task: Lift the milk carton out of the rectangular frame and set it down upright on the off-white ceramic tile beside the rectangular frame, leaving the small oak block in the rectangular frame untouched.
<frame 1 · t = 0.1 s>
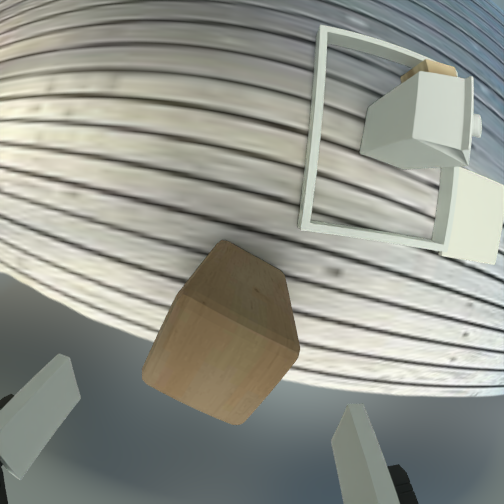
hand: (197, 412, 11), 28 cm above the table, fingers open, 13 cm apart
milk carton: (385, 138, 34), resting in rectangular frame
wooden block: (236, 284, 39), on the table
oak block: (416, 94, 32), resting in rectangular frame
rectangular frame: (386, 138, 34), on the table
tile: (475, 217, 35), on the table
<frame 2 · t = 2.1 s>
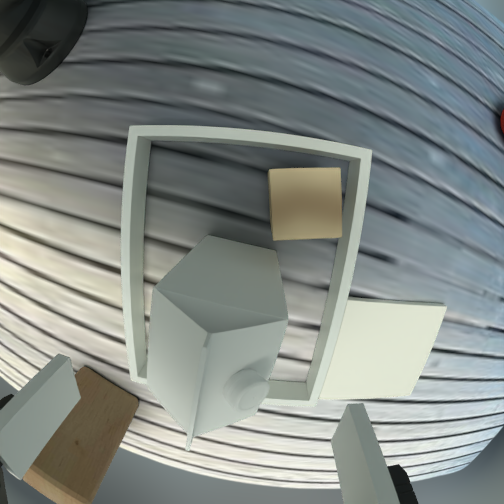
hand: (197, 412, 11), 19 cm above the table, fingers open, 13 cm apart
milk carton: (234, 274, 29), resting in rectangular frame
wooden block: (106, 397, 35), on the table
oak block: (294, 197, 27), resting in rectangular frame
rectangular frame: (234, 275, 29), on the table
tile: (382, 352, 31), on the table
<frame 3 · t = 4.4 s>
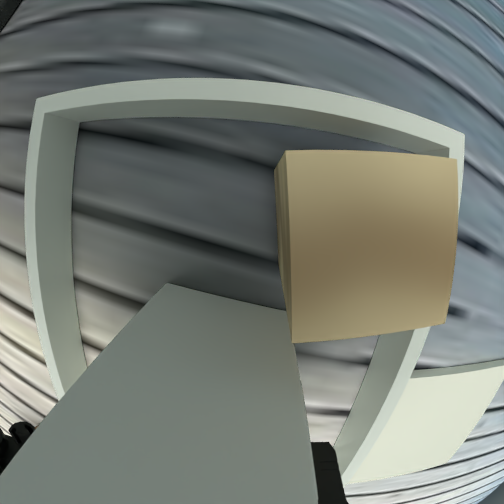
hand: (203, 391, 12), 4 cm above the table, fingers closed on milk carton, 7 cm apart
milk carton: (216, 345, 17), resting in rectangular frame, touching gripper
oak block: (323, 216, 15), resting in rectangular frame
rectangular frame: (216, 347, 17), on the table
tile: (426, 427, 18), on the table
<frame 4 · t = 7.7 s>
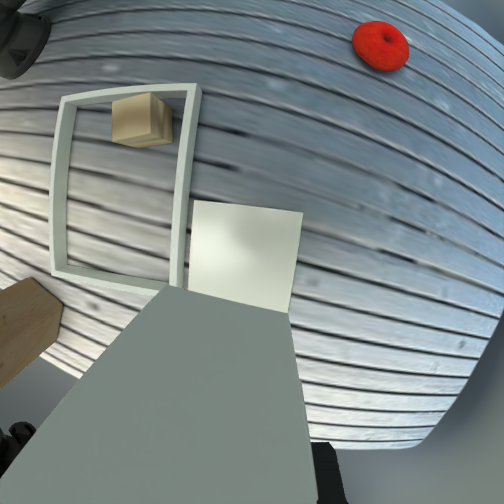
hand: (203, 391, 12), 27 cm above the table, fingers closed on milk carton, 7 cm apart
milk carton: (216, 347, 17), point 22 cm above the table, touching gripper
wooden block: (44, 308, 42), on the table
oak block: (155, 128, 35), resting in rectangular frame
apple: (371, 56, 31), on the table
rectangular frame: (117, 187, 37), on the table
tile: (242, 257, 38), on the table
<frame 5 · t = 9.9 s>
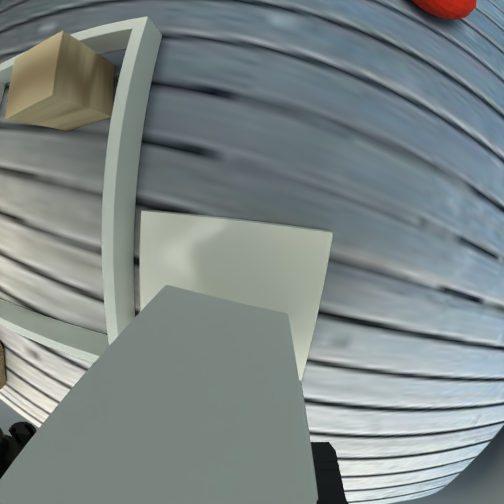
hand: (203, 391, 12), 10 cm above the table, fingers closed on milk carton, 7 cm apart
milk carton: (216, 347, 17), point 6 cm above the table, touching gripper
oak block: (89, 97, 19), resting in rectangular frame
apple: (419, 1, 15), on the table
rectangular frame: (40, 191, 21), on the table
tile: (226, 306, 22), on the table
when the fingers open (6 cm above the table, at t = 11.5 s): milk carton stays where it is, resting on tile.
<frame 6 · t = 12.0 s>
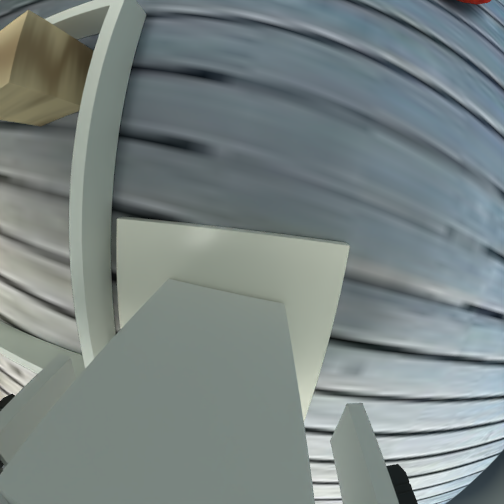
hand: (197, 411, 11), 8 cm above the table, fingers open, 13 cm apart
milk carton: (217, 338, 18), point 1 cm above the table, touching tile
oak block: (64, 88, 15), resting in rectangular frame
rectangular frame: (13, 196, 17), on the table
tile: (220, 332, 18), on the table
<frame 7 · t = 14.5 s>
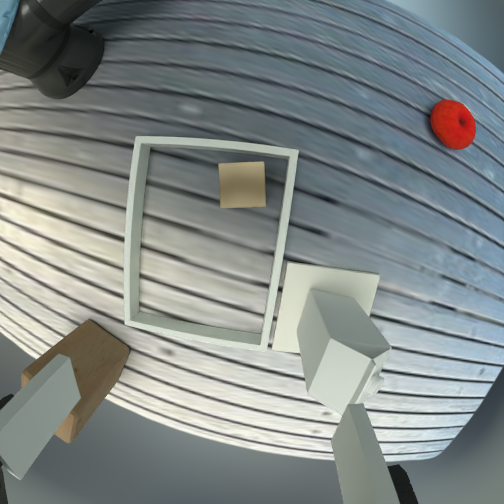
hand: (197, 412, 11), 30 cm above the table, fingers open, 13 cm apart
milk carton: (325, 314, 41), point 1 cm above the table, touching tile
wooden block: (104, 349, 46), on the table
oak block: (247, 186, 39), resting in rectangular frame
apple: (439, 128, 35), on the table
rectangular frame: (204, 242, 40), on the table
tile: (324, 312, 41), on the table
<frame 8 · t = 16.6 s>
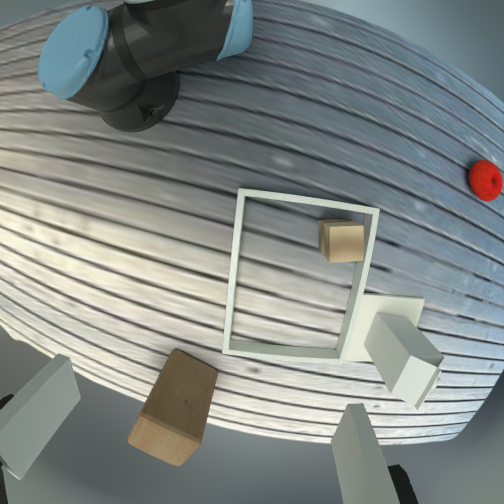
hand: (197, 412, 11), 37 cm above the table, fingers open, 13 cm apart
milk carton: (385, 330, 48), point 1 cm above the table, touching tile
wooden block: (188, 373, 53), on the table
oak block: (333, 234, 46), resting in rectangular frame
apple: (473, 179, 42), on the table
rectangular frame: (296, 280, 48), on the table
tile: (384, 328, 49), on the table
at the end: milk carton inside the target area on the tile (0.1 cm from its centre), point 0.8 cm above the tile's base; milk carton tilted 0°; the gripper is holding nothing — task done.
